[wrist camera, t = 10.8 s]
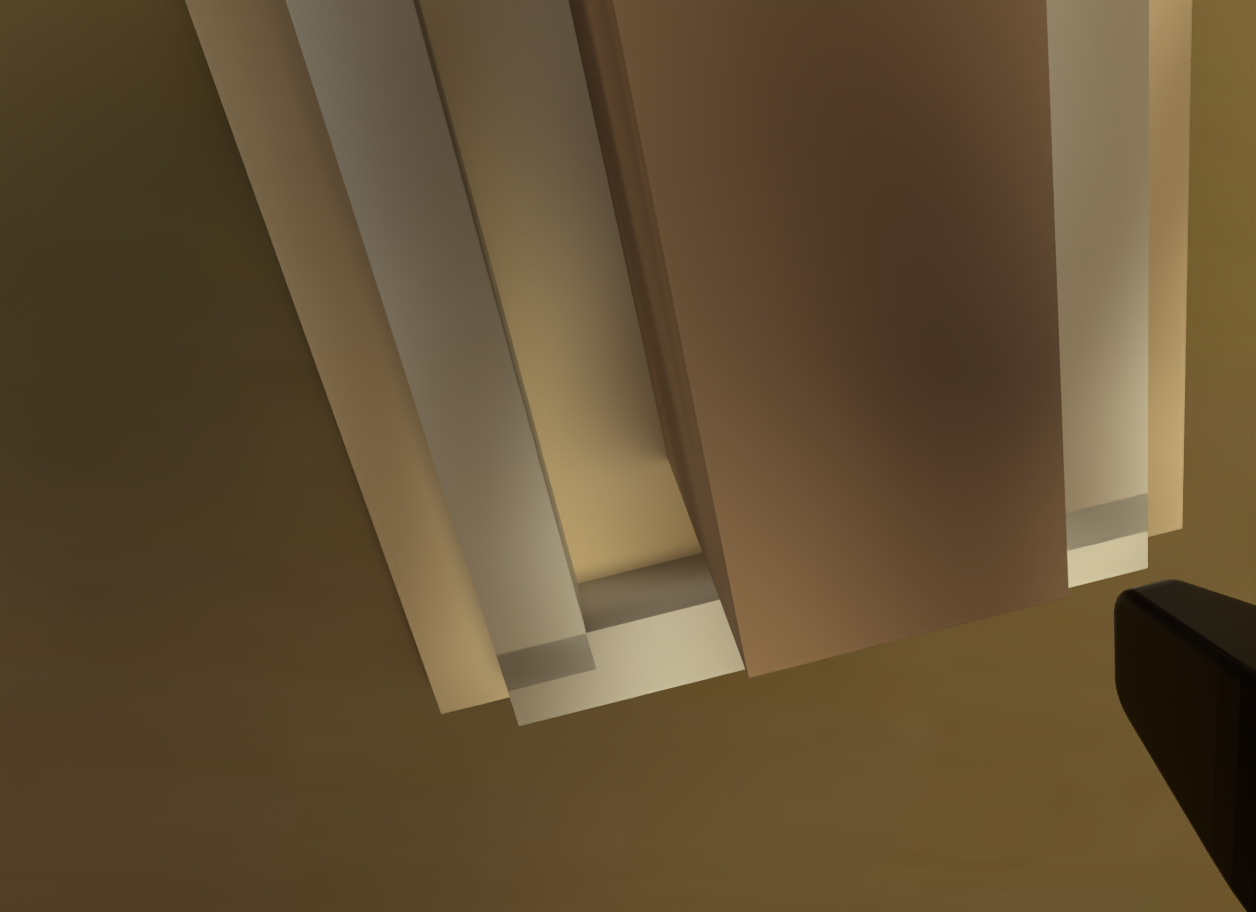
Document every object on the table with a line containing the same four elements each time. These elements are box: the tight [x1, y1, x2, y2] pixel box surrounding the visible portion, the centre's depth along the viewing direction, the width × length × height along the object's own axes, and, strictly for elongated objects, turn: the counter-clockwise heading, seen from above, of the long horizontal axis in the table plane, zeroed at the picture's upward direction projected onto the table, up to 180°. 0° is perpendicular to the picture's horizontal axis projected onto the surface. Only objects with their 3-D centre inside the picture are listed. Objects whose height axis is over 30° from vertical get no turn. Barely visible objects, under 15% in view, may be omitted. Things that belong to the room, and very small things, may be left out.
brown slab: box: [568, 0, 1069, 678], centre depth 14 cm, size 4×12×6 cm, turn 12°
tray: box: [185, 0, 1192, 726], centre depth 16 cm, size 14×20×2 cm
